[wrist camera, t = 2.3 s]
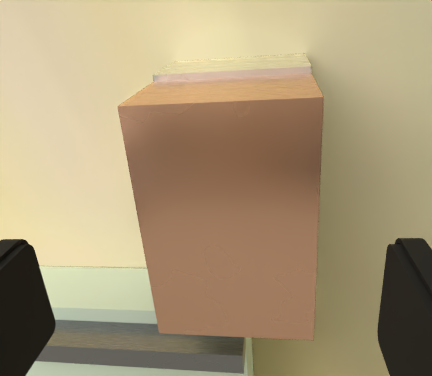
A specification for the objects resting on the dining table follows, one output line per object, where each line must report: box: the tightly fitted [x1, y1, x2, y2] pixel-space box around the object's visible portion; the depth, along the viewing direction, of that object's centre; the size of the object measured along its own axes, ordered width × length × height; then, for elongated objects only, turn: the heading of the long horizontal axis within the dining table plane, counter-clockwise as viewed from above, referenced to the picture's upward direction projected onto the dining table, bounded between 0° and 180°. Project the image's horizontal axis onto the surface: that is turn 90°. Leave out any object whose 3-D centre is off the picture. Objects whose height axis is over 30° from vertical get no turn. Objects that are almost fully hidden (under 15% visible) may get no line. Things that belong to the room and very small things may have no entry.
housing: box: [118, 53, 323, 340], centre depth 14 cm, size 5×8×6 cm, turn 4°
